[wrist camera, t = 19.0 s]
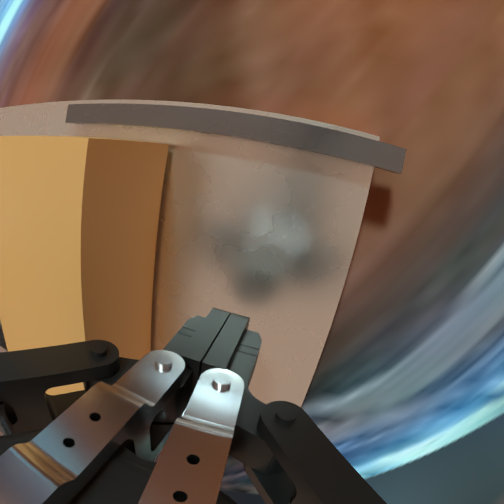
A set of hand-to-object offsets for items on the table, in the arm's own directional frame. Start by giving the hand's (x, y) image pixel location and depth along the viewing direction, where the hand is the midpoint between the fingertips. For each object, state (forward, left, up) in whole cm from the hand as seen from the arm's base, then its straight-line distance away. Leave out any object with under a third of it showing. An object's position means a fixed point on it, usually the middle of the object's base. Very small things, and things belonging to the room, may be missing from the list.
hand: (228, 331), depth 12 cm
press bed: (+9, 0, -4) cm, 10 cm away
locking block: (+8, 0, -2) cm, 8 cm away
